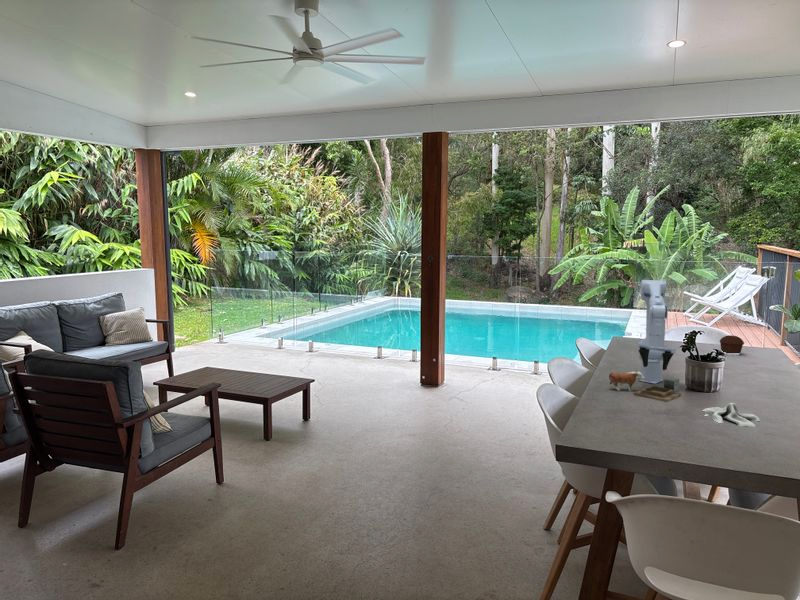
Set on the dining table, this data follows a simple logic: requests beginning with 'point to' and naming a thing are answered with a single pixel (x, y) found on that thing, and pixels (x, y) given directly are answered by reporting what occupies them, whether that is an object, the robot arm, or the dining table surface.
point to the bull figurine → (625, 379)
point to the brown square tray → (658, 393)
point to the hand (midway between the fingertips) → (654, 368)
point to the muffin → (731, 344)
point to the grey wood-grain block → (671, 384)
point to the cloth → (731, 415)
